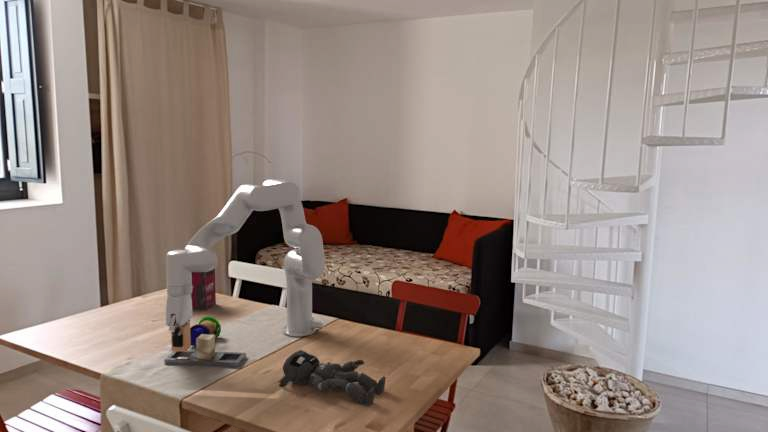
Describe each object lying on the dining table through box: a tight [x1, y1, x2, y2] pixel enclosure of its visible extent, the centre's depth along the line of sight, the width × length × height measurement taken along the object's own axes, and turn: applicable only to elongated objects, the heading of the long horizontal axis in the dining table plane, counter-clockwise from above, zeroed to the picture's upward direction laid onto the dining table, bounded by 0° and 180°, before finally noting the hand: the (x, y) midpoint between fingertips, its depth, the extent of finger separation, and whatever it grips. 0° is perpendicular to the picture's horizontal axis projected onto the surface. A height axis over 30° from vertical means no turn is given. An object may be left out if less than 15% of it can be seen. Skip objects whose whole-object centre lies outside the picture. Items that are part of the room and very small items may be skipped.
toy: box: [190, 316, 222, 347], centre depth 196 cm, size 12×9×15 cm
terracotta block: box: [170, 322, 192, 352], centre depth 178 cm, size 4×4×8 cm
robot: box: [278, 349, 387, 407], centre depth 163 cm, size 17×10×30 cm
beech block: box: [195, 334, 216, 360], centre depth 178 cm, size 4×4×8 cm
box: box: [191, 267, 217, 311], centre depth 236 cm, size 16×9×20 cm, turn 81°
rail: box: [164, 349, 247, 368], centre depth 179 cm, size 24×8×3 cm, turn 86°
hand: (181, 343), depth 178 cm, fingers closed on terracotta block, 4 cm apart
